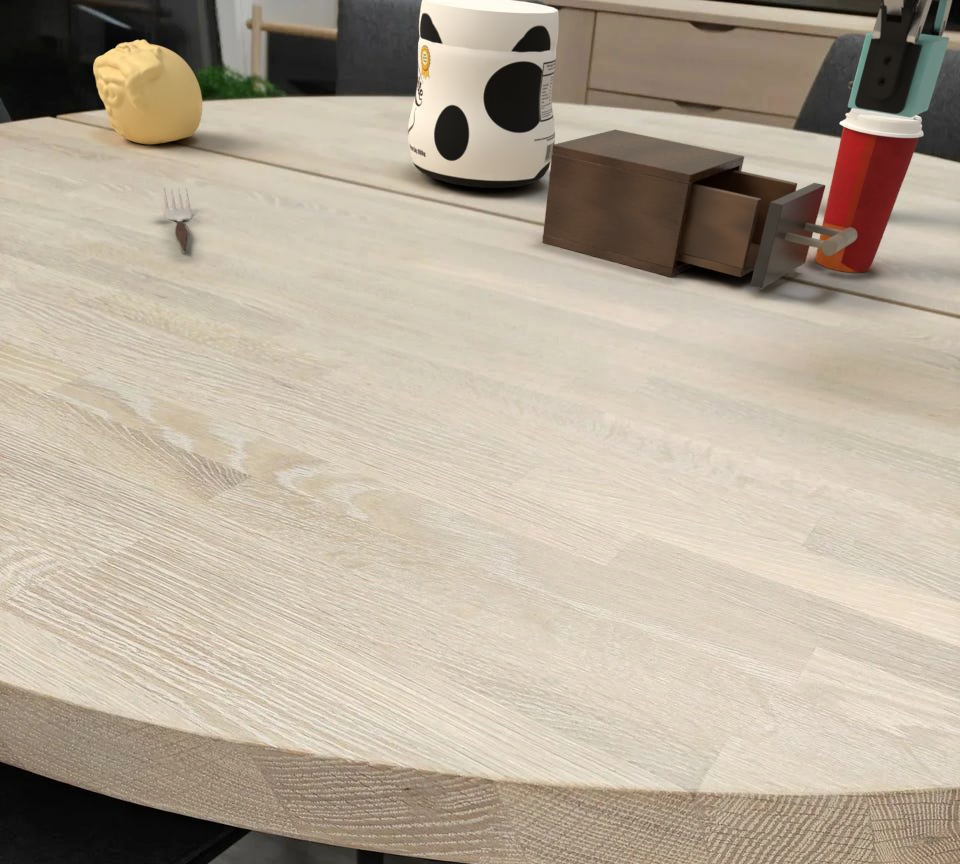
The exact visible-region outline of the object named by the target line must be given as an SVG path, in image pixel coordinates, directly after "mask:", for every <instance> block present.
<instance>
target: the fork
mask: <svg viewBox="0 0 960 864" xmlns="http://www.w3.org/2000/svg"><path fill="white" fill-rule="evenodd" d="M170 193H171V194H170V195H171V209H170V208H169V203H168V198H167V194H166V187H163V199H164V201H163V202H164V217H165V219H167V220H168V221H176V226H175V231H174V232H175V233H174V234H175V236H176V238H177V241H178V242H179V245H180V246H181V249H182V251H183V252H184V253H185V252H187V247H188V246H187V245H188V239H189V231H188V228H187V226H186V225H185V223H184V221H189V220H191V219H192V218H193V213H192V209H191V203H190V199H189V194H188V188H187V187H185V203H186V208H184V205H183V200H182V195H181V190H180V189H178V209H177V207H176V206H177V205H176V202H175V197H174V191H173V187H171V192H170Z"/></svg>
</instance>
